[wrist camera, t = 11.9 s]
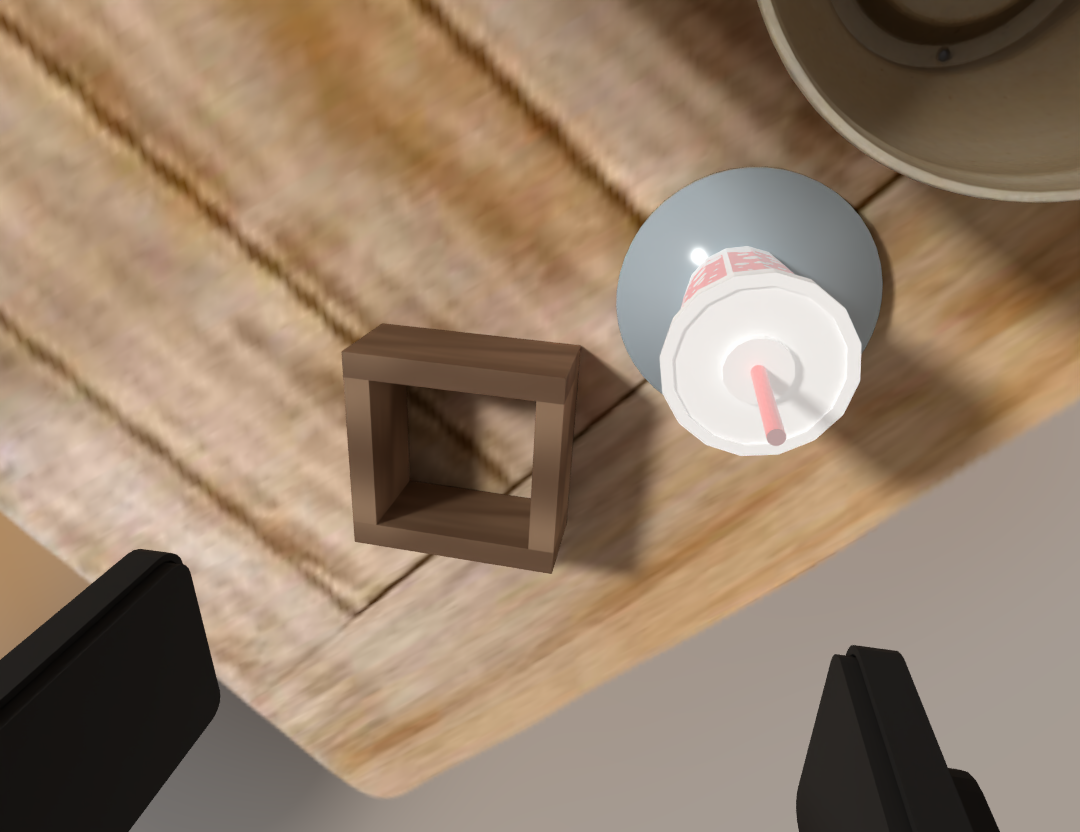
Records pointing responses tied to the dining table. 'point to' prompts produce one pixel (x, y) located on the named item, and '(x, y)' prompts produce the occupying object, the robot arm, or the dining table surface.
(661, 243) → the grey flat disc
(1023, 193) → the planter bowl
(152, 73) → the dining table surface
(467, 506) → the square wooden frame
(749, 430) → the beverage cup
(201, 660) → the robot arm
